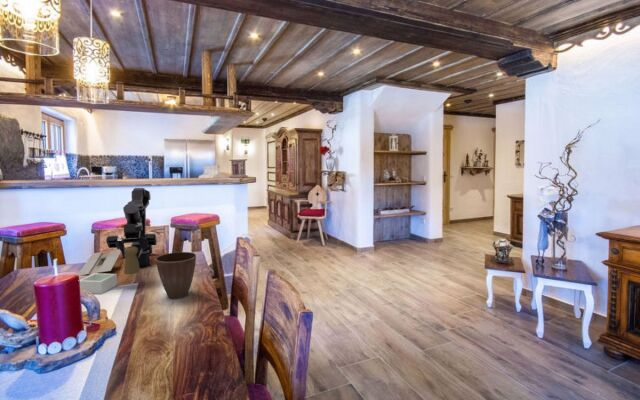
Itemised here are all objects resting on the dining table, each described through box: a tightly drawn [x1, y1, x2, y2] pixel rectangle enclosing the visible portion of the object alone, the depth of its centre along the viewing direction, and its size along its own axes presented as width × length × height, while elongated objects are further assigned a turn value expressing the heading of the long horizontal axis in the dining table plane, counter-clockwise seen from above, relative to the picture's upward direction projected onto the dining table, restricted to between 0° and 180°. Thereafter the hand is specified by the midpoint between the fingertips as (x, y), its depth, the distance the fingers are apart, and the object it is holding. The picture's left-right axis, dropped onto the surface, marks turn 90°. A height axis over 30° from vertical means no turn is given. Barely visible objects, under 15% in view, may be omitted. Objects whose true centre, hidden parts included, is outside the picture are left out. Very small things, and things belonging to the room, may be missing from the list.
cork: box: [123, 246, 141, 275], centre depth 147 cm, size 6×6×11 cm
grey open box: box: [79, 273, 118, 295], centre depth 145 cm, size 10×10×5 cm
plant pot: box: [155, 251, 197, 300], centre depth 138 cm, size 15×15×16 cm
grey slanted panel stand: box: [77, 249, 122, 276], centre depth 171 cm, size 16×9×15 cm
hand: (130, 257), depth 145 cm, fingers closed on cork, 5 cm apart
